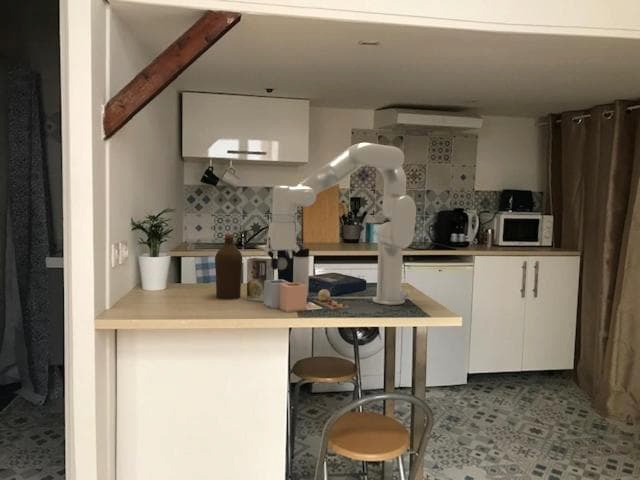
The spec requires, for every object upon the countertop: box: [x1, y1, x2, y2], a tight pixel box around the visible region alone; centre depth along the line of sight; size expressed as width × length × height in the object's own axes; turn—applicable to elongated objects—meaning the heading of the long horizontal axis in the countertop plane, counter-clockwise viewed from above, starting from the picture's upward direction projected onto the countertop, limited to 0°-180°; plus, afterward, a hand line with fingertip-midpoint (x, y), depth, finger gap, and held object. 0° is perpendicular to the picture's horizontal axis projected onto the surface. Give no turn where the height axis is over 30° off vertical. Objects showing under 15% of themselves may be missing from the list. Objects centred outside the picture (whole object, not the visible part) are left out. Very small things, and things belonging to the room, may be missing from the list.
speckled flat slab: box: [312, 297, 350, 311], centre depth 191 cm, size 7×16×1 cm, turn 27°
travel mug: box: [292, 248, 310, 299], centre depth 203 cm, size 6×7×20 cm
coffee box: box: [246, 257, 275, 303], centre depth 196 cm, size 9×6×16 cm
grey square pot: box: [263, 279, 291, 309], centre depth 187 cm, size 7×7×9 cm
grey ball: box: [276, 257, 288, 271], centre depth 186 cm, size 5×5×5 cm
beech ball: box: [317, 288, 331, 301], centre depth 194 cm, size 5×5×5 cm
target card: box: [306, 300, 323, 311], centre depth 187 cm, size 6×10×2 cm, turn 27°
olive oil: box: [214, 233, 243, 300], centre depth 199 cm, size 11×11×25 cm
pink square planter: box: [278, 282, 308, 313], centre depth 181 cm, size 7×7×9 cm
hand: (280, 268), depth 186 cm, fingers closed on grey ball, 4 cm apart
